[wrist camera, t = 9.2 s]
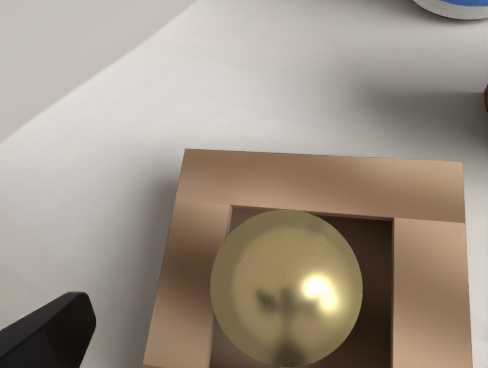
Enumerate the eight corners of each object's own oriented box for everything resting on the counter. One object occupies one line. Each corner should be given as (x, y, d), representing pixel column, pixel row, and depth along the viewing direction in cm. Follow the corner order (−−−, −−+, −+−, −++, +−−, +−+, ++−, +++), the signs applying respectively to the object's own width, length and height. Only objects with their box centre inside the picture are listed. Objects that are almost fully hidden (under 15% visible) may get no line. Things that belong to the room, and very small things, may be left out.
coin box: (438, 468, 17) (480, 519, 13) (171, 412, 20) (127, 438, 16) (432, 196, 22) (462, 161, 17) (210, 181, 24) (185, 148, 20)
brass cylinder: (332, 356, 19) (327, 399, 10) (253, 316, 21) (185, 321, 11) (363, 273, 20) (385, 243, 11) (285, 241, 22) (246, 189, 12)
